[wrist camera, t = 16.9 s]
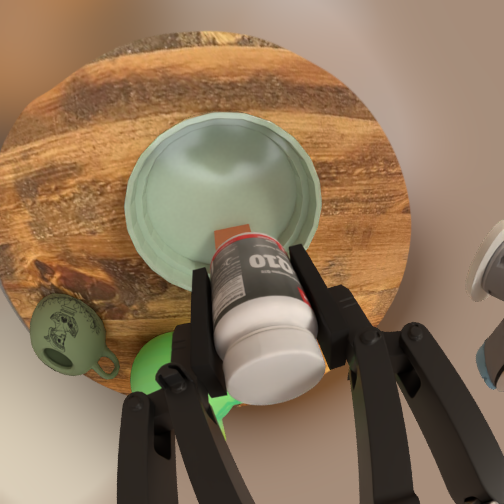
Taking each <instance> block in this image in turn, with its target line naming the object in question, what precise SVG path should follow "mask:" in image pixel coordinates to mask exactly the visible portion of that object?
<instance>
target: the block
mask: <svg viewBox="0 0 504 504" xmlns="http://www.w3.org/2000/svg"><path fill="white" fill-rule="evenodd" d="M246 232H251V229H250V226H249V224H245V225H240V226H235V227H230V228H225V229H221V230H216V231H214V237H215V249H216V250H217V249H218V247H219V246H220V245H221V244H222V243H224V242H225V241H226V240H228V239H229V238H231V237H233V236H235V235H238V234H241V233H246Z"/></svg>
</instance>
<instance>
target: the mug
mask: <svg viewBox="0 0 504 504" xmlns="http://www.w3.org/2000/svg"><path fill="white" fill-rule="evenodd" d="M30 338H31V344H32V347H33V349H34V351H35V353H36V355H37V356H38V358H39V359H40V360H41V361H42V362H43V363H44V364H45V365H47V366H48V367H50V368H51V369H53V370H54V371H57V372H59V373H62V374H64V375H70V376H76V375H81V374H85V373H86V372H87V371H89V370H90V369H93V370H94V371H96V372H97V373H98V374H99V375H100V376H101V377H102V378H104V379H113V378H114V377H115V376H116V375H117V374H118V371H119V368H120V365H119V361H118V359H117V357H116V356H115V355H114V354H113V352H112V351H111V350H110V349H109V348H108V347H107V345H106V343H105V340H106V330H105V328H104V325H103V322H102V320H101V319H100V318H99V316H98V315H97V314H96V313H95V311H94V310H93V309H92V308H90V307H89V306H87V305H86V304H85V303H83V302H82V301H81V300H79V299H76V298H74V297H71V296H69V295H66V294H55V293H53V294H50V295H48V296H46V297H44V298H43V299H42V300H41V301H40V302H39V303H38V304H37V306H36V308H35V310H34V312H33V315H32V318H31V322H30ZM100 357H107V358H109V359H111V360H112V361H113V363H114V366H115V368H114V370H113V372H112V373H111V374H107V373H105V372H104V371H103V370H102V368H101V367H100V365H99V364H98V361H99V359H100Z"/></svg>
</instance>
